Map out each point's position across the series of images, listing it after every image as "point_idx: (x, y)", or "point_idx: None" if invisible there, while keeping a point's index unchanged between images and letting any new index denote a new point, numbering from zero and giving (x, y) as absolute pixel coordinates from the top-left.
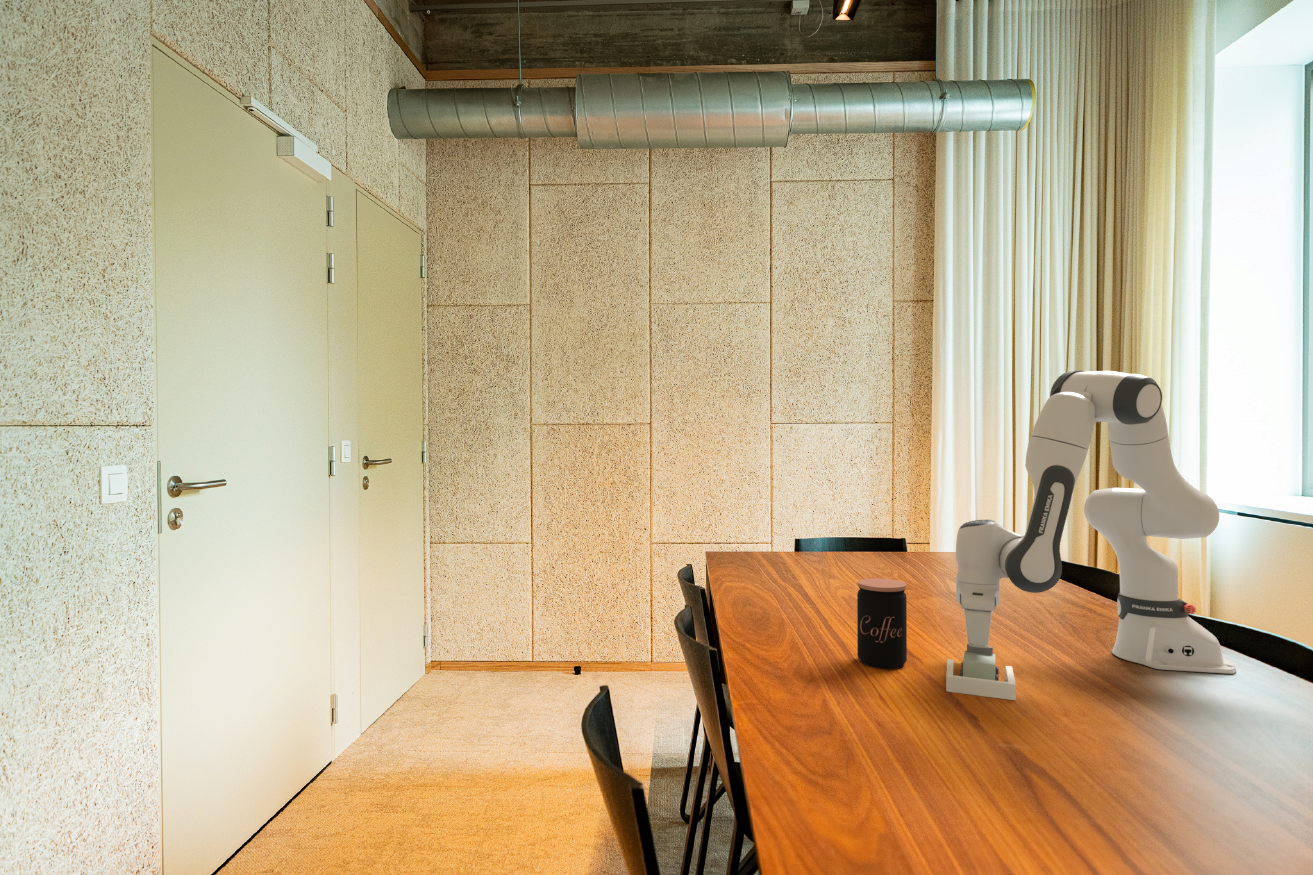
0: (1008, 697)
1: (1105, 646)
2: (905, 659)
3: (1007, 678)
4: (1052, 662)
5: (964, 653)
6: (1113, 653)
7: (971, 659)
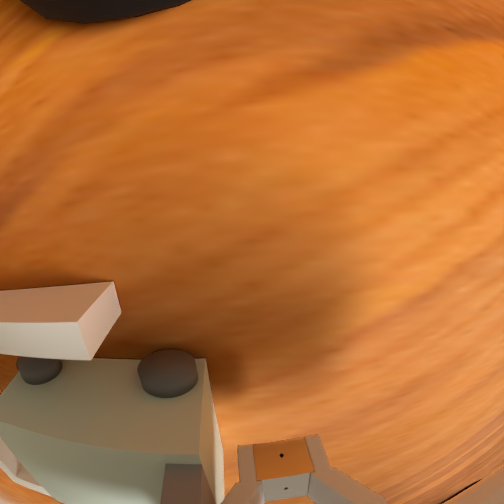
0: None
1: (498, 464)
2: (93, 14)
3: None
4: (420, 480)
5: (116, 449)
6: (461, 492)
7: (36, 455)
